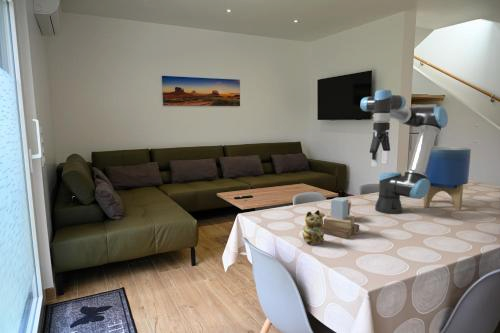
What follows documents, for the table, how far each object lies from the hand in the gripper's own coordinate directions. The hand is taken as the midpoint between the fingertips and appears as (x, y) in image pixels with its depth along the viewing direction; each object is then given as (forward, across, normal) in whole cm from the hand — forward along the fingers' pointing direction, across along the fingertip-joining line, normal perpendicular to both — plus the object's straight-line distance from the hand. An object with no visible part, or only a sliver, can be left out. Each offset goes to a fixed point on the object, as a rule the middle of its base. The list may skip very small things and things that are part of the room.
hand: (379, 164), depth 164 cm
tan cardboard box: (+32, +21, -10) cm, 40 cm away
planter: (+32, -67, +15) cm, 76 cm away
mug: (+32, 0, -18) cm, 37 cm away
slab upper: (+28, +21, -10) cm, 37 cm away
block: (+24, +21, -10) cm, 34 cm away
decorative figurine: (+32, +41, -13) cm, 54 cm away
